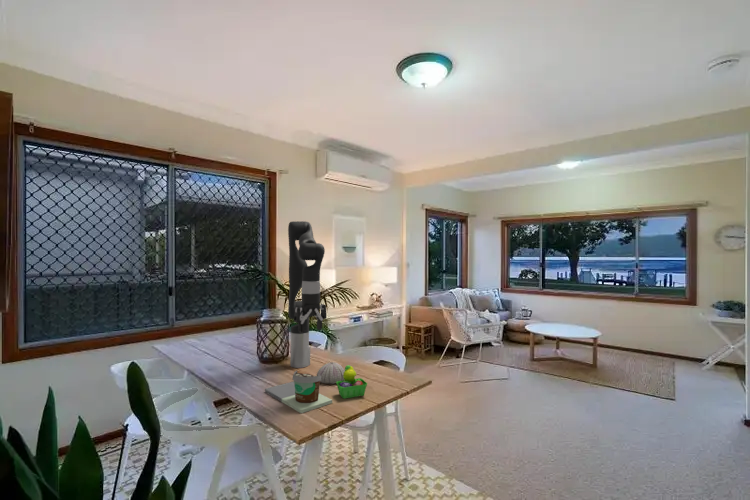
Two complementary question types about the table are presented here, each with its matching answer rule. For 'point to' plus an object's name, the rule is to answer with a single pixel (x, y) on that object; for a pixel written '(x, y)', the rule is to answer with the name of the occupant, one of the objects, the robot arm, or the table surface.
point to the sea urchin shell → (331, 373)
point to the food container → (306, 387)
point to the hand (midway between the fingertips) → (310, 331)
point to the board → (287, 396)
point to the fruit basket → (351, 384)
